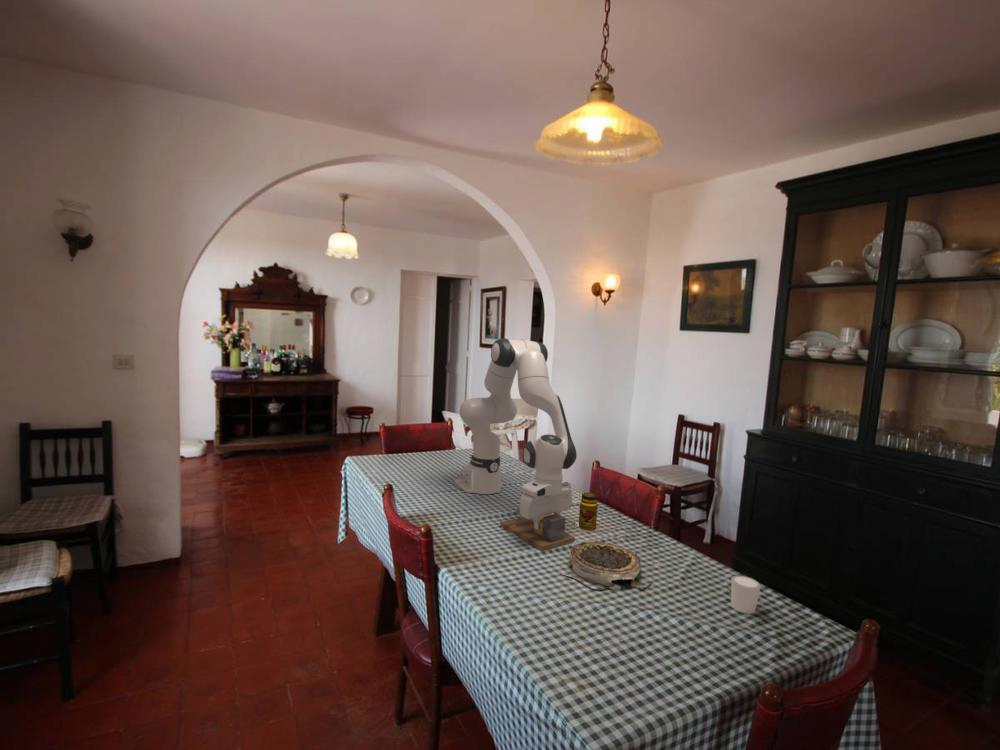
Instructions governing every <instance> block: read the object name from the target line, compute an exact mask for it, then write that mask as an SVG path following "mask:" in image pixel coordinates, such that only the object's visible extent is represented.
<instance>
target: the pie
mask: <svg viewBox="0 0 1000 750" xmlns="http://www.w3.org/2000/svg"><path fill="white" fill-rule="evenodd" d="M568 558H569V560H570V563H571V565H572V567H568V570H570V571H571V572H573V573H574V574H575V575H577V576H579V577H580V578H581V579H584V580H586V581H589V582H593V583H597V584H601V585H604V586H607V587H604V588H602V589H600V591H602V590H604V589H609V590H613V591H614V590H615V591H616V590H621V589H622V586H621V585H619V584H616V583H613V582H612V581H617V580H619V581H620V580H623V581H624V580H626V581H627V580H630V586H631V587H633V588H635V589H640V590H644V589H647V588H649V586H651V585H652V584H653V583H654V581H651V582H650V583H649V584H647V585H646V587H644V586H641V585H637V584H636V583H635V579H636V577H637V576H638V575H639V573H640V572H641V568H642V564H641V561H642V559H641V558H640V557H639V555H638V553H637V552H635V551H632V550H631V549H627V548H624V547H623V546H620V545H618V544H614V543H611V542H608V543H606V541H589V542H585V541H582V542H579V543H577V544H574V545H573V546H572V547H571V548H570V549H569V553H568ZM557 564H558V565H560V564H563V563H562V562H557ZM560 568H562V567H560ZM558 572H559V573H560V574H561V575H563V576H566V577H569V578H570V577H571V578H573V579H575V580H577V581H579V580H578V578H576V577H575V576H573V575H574V574H571V575H569V574H565V573H563V572H561V571H560V570H558ZM580 583H582V584H584V585H585V586H586V587H588V588H591V589H594V588H592V587H590V586H589V585H588V584H587V583H584V582H581V581H580ZM595 590H597V591H598V589H595Z"/></svg>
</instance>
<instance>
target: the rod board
mask: <svg viewBox="0 0 1000 750" xmlns="http://www.w3.org/2000/svg"><path fill="white" fill-rule="evenodd" d="M515 512H516V515H519V516H520V517H516V518H513V519H512V518H511V519H508V520H504V521H500V524H499V526H501V527H500V528H502V527H503V528H505V529H506V530H505V529H504V530H505V531H507V530H508V531H507V532H509V533H510V532H511V533H510V534H512V533H513V535H514V534H515V535H516V537H517V536H518V537H517V538H519V539H521V540H523V541H524V542H526V543H528V544H529V545H531V546H533V547H534V548H536V549H538V550H539V551H541V552H546V551H548V550H551V549H555V548H559V547H561V546H565V545H568V544H572V543H576V542H575V538H576V537H575V536H574V535H571V534H569V533H567V532H566V531H565V529H566V526H565V525H566V517H564V516H562V515H561V514H560V515H558V514H554V513H553V514H551V515H550V516H546V517H543V527H542V536H541V535H539V534H537V533H535V532H534V521H533V519H526V518H524V517H522V516H521V514H520V508H517V509H516V511H515ZM503 528H502V529H503ZM515 535H514V536H515Z"/></svg>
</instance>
